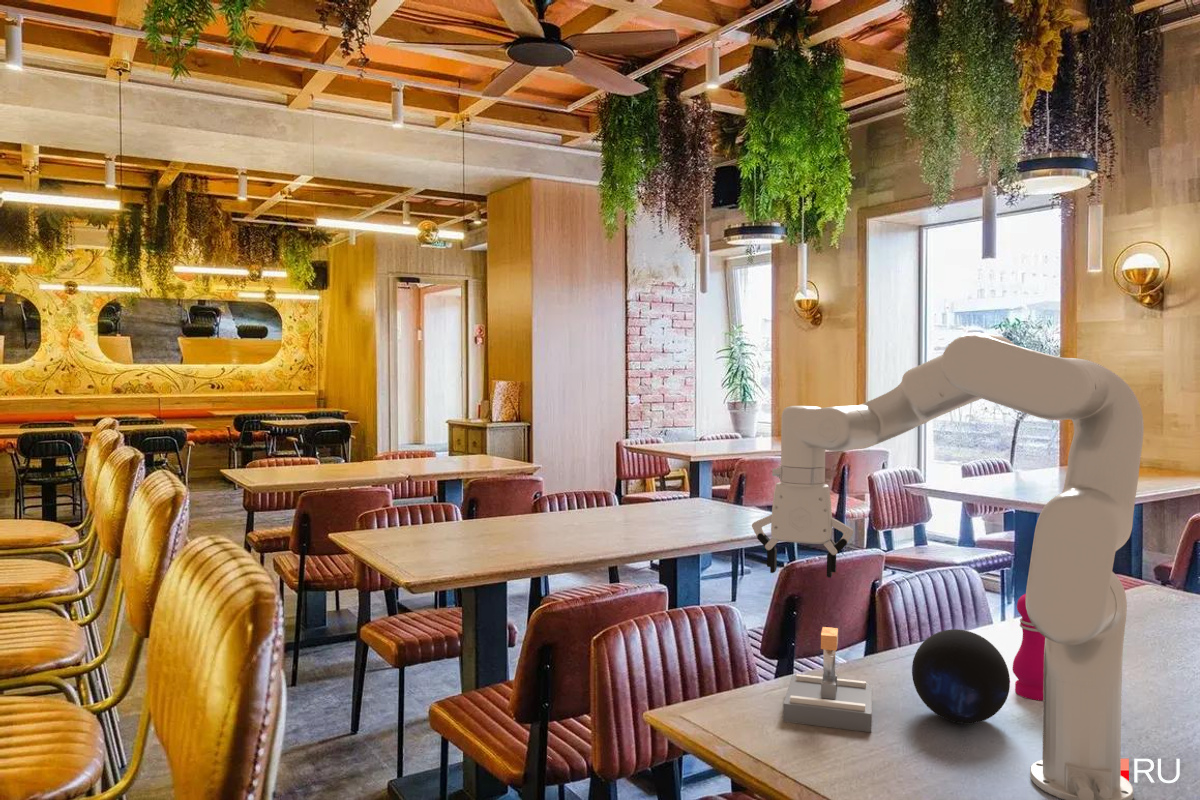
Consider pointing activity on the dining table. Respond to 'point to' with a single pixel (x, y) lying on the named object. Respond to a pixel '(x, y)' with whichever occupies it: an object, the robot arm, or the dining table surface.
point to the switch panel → (829, 703)
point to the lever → (829, 652)
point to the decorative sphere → (960, 676)
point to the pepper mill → (1029, 657)
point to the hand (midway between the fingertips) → (801, 573)
